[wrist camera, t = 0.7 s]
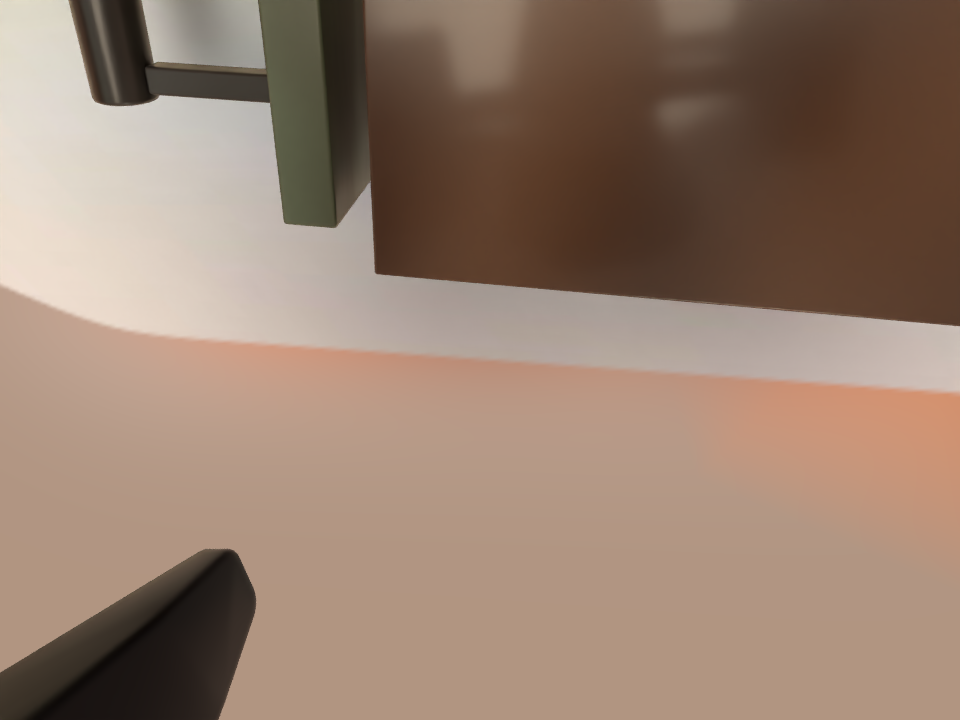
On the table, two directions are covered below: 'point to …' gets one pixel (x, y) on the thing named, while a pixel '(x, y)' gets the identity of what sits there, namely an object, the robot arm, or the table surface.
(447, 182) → the cabinet
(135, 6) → the drawer
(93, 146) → the table surface
